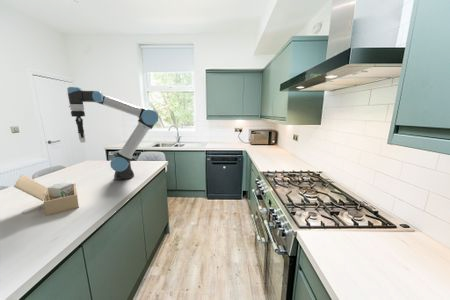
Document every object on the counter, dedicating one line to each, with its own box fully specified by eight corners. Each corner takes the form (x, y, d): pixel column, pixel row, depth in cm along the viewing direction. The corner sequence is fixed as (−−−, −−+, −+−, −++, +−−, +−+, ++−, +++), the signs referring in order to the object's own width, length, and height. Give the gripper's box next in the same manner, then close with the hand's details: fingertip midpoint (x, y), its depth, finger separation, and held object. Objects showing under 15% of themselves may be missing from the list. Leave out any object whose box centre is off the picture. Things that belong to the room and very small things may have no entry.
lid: (22, 174, 111) (21, 175, 111) (14, 185, 95) (13, 186, 94) (46, 187, 119) (45, 188, 119) (43, 200, 102) (42, 201, 102)
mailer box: (77, 194, 130) (75, 183, 128) (78, 207, 113) (76, 194, 111) (49, 200, 121) (46, 188, 120) (46, 215, 104) (43, 202, 102)
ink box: (61, 207, 112) (58, 188, 110) (50, 205, 114) (46, 187, 111) (75, 200, 120) (72, 183, 118) (64, 199, 122) (61, 182, 119)
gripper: (70, 110, 138) (75, 139, 143) (71, 110, 119) (76, 144, 124) (83, 110, 143) (87, 138, 147) (85, 110, 124) (90, 142, 129)
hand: (82, 141), depth 136 cm, fingers open, 13 cm apart
